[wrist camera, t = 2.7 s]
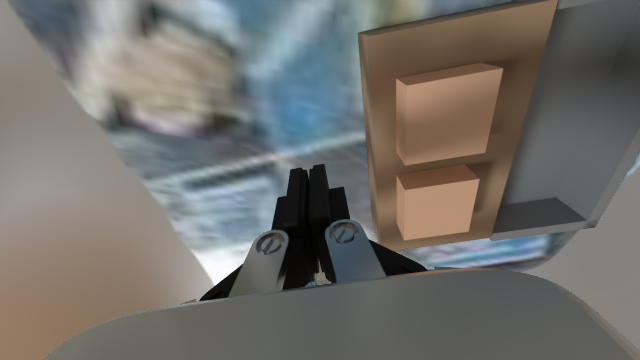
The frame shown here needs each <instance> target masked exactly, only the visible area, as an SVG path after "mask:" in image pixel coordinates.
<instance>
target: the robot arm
mask: <svg viewBox="0 0 640 360" xmlns="http://www.w3.org/2000/svg"><path fill="white" fill-rule="evenodd" d="M319 262H320V265H321V269H322V272H325V276H326V279H328V280H329V281H330V282H332V283H331V284H323V285H316V286H308V287H305V286H306V285H307V284H308V283H309V282H315V273H319ZM43 360H640V350H639V349H638V348H637V347H636V346H635V345H634V344H633V343H631V342H630V341H629V340H628V339H627V338H626V337H625V336H624V335H623V334H622V333H620V332H619V331H618V330H617V329H616V328H615V327H614V326H613V325H612V324H611V323H609V322H608V321H607V320H606V319H605V318H604V317H602V316H601V315H600V314H599V313H598V312H596V311H595V310H594V309H593V308H592V307H591V306H589V305H588V304H587V303H585V302H584V301H583V300H582V299H580V298H579V297H577V296H576V295H575V294H573V293H572V292H570V291H569V290H567V289H565V288H563V287H562V286H560V285H558V284H556V283H553V282H551V281H549V280H546V279H543V278H539V277H537V276H533V275H529V274H525V273H520V272H514V271H509V270H503V269H491V268H452V267H435V266H434V270H431V269H426V268H425V267H424V266H422V265H421V264H419V263H417V262H415V261H413V260H411V259H409V258H407V257H405V256H403V255H401V254H398V253H396V252H394V251H392V250H390V249H388V248H386V247H384V246H382V245H380V244H378V243H376V242H374V241H371V240H369V239H368V238H367V236H366V234H365V232H364V230H363V228H362V226H361V225H360V224H359V223H357V222H356V221H353V220H350V215H349V210H348V206H347V201H346V196H345V191H344V187H339V188H332V189H329V186H328V180H327V175H326V170H325V165H324V164H320V165H314V166H313V169H310V171H309V178H308V173H307V170H303V169H302V168H296V169H291V170H290V176H289V183H288V189H287V196H283V197H278V199H277V204H276V209H275V214H274V219H273V224H272V229H271V231H268V232H265V233H263V234H261V235H260V236H259V237H258V238H256V239H255V241H254V242H253V244H252V246H251V248H250V251H249V253H248V255H247V257H246V259H245V261H244V264H242V265H241V266H240V267H238V268H237V269H236V270H235V271H233V272H232V273H231V274H230V275H228V276H227V277H226V278H224V279H223V280H222V281H221V282H219V283H218V284H217V285H216V286H214V287H213V288H212V289H211V290H209V291H208V292H207V293H206V294H205V295H204V296H203V297H202V298H201V299H200V300H199V302H197V301H196V299H194V300H191V301H188V302H185V303H182V304H180V305H175V306H167V307H162V308H156V309H151V310H146V311H140V312H135V313H131V314H127V315H123V316H120V317H117V318H114V319H111V320H108V321H105V322H102V323H100V324H98V325H96V326H93V327H91V328H89V329H87V330H85V331H82V332H81V333H79V334H77V335H75V336H73V337H71V338H70V339H68V340H67V341H65V342H63V343H62V344H60V345H59V346H58V347H57V348H55V349H54V350H53V351H52V352H51V353H50V354H49V355H48V356H46V357H45V358H44V359H43Z"/></svg>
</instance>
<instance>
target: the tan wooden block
mask: <svg viewBox="0 0 640 360" xmlns="http://www.w3.org/2000/svg"><path fill="white" fill-rule="evenodd" d="M557 3H558V0H535V1H523V2H510V3H504V4H499V5H494V6H489V7H484V8H479V9H474V10H469V11H464V12H459V13H454V14H449V15H444V16H439V17H434V18H429V19H424V20H419V21H414V22H409V23H404V24H399V25H394V26H389V27H384V28H379V29H374V30H369V31H364V32H360V33H358V43H359V55H360V68H361V81H362V94H363V107H364V120H365V133H366V146H367V158H368V171H369V184H370V197H371V210H372V223H373V227H374V230H375V233H376V237H377V240H378V244H380V245H382V246H384V247H386V248H388V249H390V250H392V251H396V250H403V249H410V248H418V247H425V246H433V245H440V244H448V243H455V242H462V241H470V240H477V239H485V238H490V237H491V234H492V230H493V227H494V223H495V220H496V216H497V213H498V209H499V206H500V202H501V199H502V195H503V192H504V188H505V185H506V181H507V178H508V174H509V171H510V167H511V164H512V160H513V157H514V153H515V150H516V146H517V143H518V139H519V136H520V132H521V129H522V125H523V122H524V118H525V115H526V111H527V108H528V104H529V101H530V97H531V94H532V90H533V87H534V83H535V80H536V76H537V73H538V69H539V66H540V62H541V59H542V55H543V52H544V48H545V45H546V41H547V38H548V34H549V31H550V27H551V24H552V20H553V17H554V13H555V10H556V6H557ZM476 63H485V64H489V65H493V66H497V67H500V68H503V72H502V76H501V81H500V86H499V90H498V95H497V100H496V105H495V109H494V114H493V119H492V123H491V128H490V133H489V137H488V142H487V147H486V151H485V153H480V154H474V155H468V156H461V157H455V158H449V159H443V160H436V161H430V162H424V163H417V164H411V165H405V164H404V163H403V161H402V159H401V158H400V156H399V155H398V153H397V144H396V78H401V77H406V76H412V75H417V74H422V73H428V72H433V71H439V70H444V69H449V68H455V67H460V66H466V65H471V64H476ZM463 164H465V165H466V166H467V167H468V168H469V169H470V170H471V171H472V172H473V173H474V174H475V175H476V176H477V177H478V178H479V179H480V180H479V184H478V189H477V194H476V198H475V203H474V208H473V213H472V217H471V222H470V227H469V231H468V232H462V233H455V234H447V235H440V236H433V237H426V238H418V239H411V240H404V239H403V237H402V234H401V232H400V229H399V227H398V225H397V175H400V174H406V173H412V172H419V171H425V170H431V169H438V168H444V167H451V166H457V165H463Z"/></svg>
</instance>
